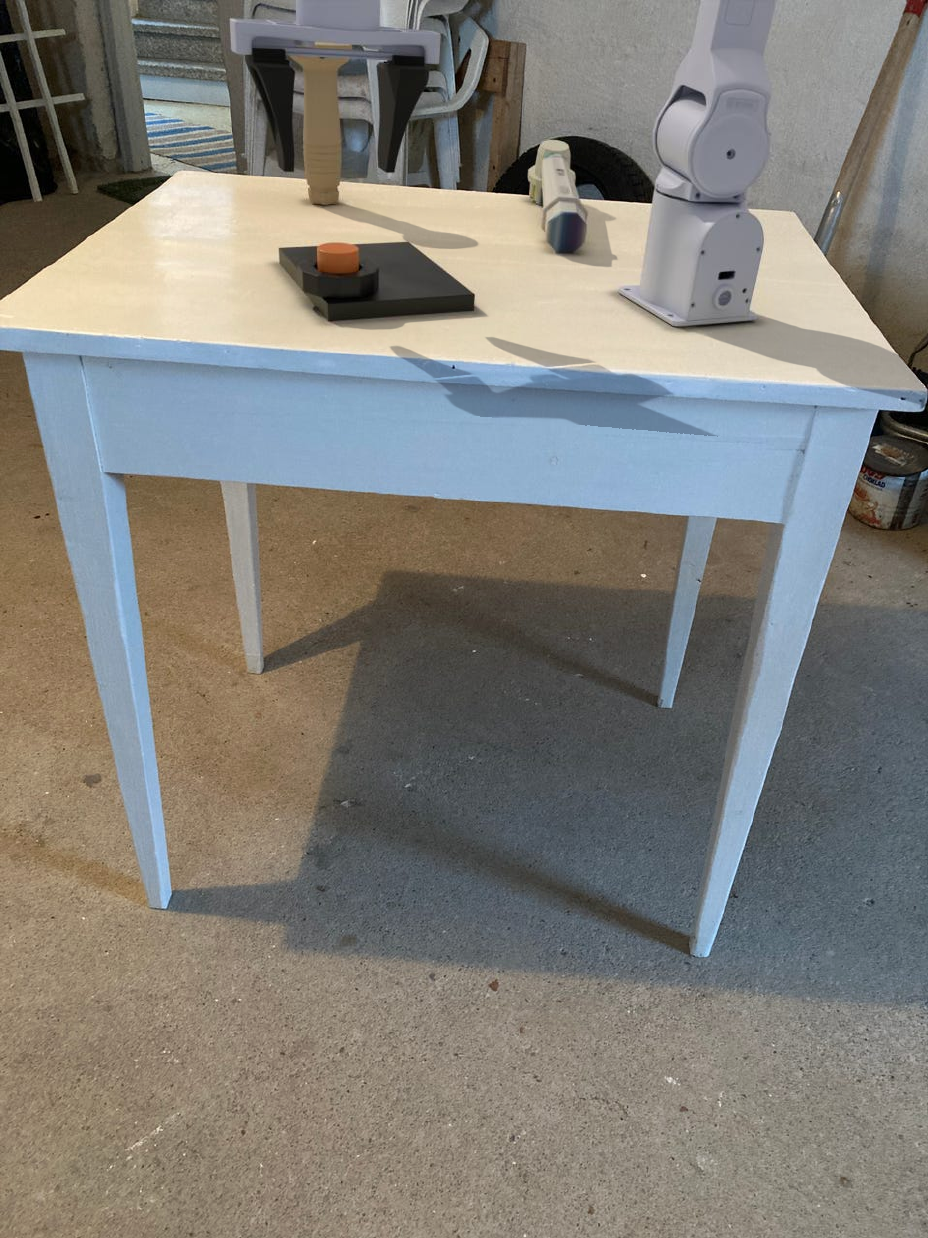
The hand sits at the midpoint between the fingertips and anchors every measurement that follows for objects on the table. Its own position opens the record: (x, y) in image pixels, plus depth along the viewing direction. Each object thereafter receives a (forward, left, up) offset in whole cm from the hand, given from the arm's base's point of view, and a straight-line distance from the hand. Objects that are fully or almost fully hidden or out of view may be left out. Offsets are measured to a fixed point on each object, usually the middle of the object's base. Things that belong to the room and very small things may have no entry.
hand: (337, 169), depth 73 cm
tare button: (-1, 0, -7) cm, 7 cm away
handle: (+33, -8, -10) cm, 36 cm away
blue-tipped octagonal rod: (+21, -30, -10) cm, 38 cm away
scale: (+3, -4, -10) cm, 11 cm away
